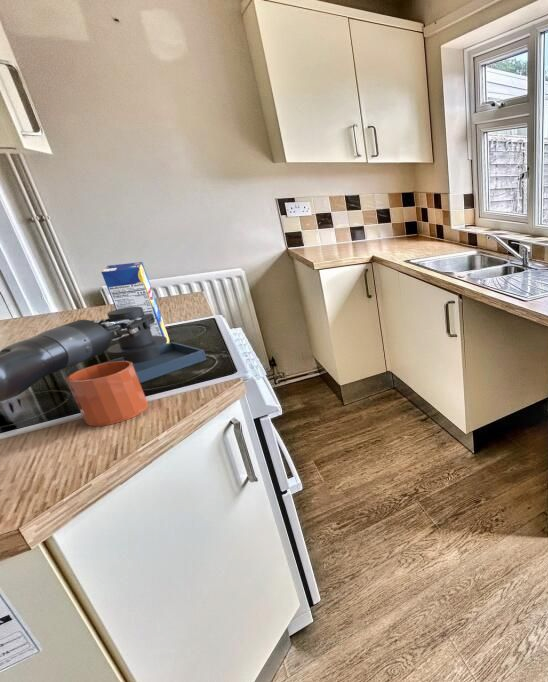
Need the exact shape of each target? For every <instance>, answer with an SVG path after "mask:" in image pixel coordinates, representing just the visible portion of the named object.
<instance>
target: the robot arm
mask: <svg viewBox="0 0 548 682" xmlns="http://www.w3.org/2000/svg"><path fill="white" fill-rule="evenodd" d="M133 322H134V323H133ZM154 322H155V319H154V317H153V314H146V315H143V316H141V317H137V318H135V319H131V320H128V319H121V320H117V321H113V322H110V320H109V318H101V319H98V320H93V319H91V320H90V319H77V320H74V321H71V322H69V323H66V324H62V325H60V326H57V327H53V328H50V329H48V330H45V331H42V332H41V333H38V334H36V335H35V336H31V337H28V338H26V339H22V340H20V341H17V342H14V343H11V344H9V345H7V346H6V347H4V348H2V349H1V350H0V403H2V402H5V401H8V400H10V399H13V398H15V397H17V396H19V395H21V394H22V393H24V392H25V391H27V390H28V389H29V388H31V387H32V386H34V384H36V383H37V382H39V380H40V379H43V378H45V377H47V376H50V375H52V374H54V373H57V372H59V371H61V370H63V369H67V368H71V367H74V366H77V365H78V364H81V363H84V362H86V361H88V360H89V359H92V358H95V357H96V356H99V355H101V354H103V353H105V352H107V349H108V348H109V347H110V346H111V345H110V344H111V342H114V341H118V339H119V338H121V337H124V336H128V335H129V336H130V337H136V336H138V335H140V334H142V333H144V332H146V331H148V330H149V329H151V328H150V324H152V323H154ZM120 323H123V324H124V327H125V329H123V327H122V325H121V324H120Z"/></svg>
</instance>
